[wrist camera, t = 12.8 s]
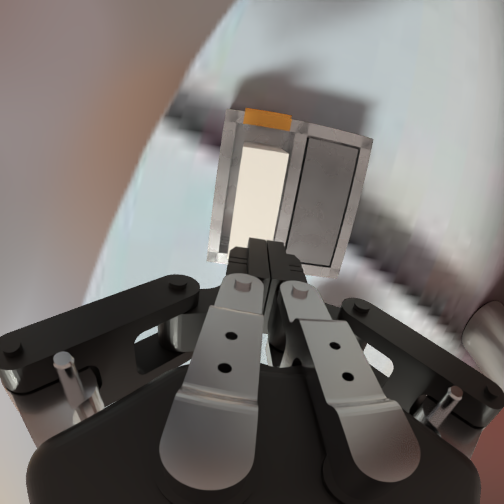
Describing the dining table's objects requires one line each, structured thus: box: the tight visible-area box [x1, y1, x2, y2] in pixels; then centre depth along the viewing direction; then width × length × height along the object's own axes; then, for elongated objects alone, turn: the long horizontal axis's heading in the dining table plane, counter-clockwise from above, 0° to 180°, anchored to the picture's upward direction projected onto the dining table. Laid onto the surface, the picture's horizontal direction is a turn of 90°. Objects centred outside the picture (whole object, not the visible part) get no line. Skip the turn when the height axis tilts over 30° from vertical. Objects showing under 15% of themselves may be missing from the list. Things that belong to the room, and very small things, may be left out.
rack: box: [207, 108, 373, 279], centre depth 26 cm, size 12×13×4 cm
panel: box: [227, 141, 289, 259], centre depth 23 cm, size 3×8×7 cm, turn 171°
